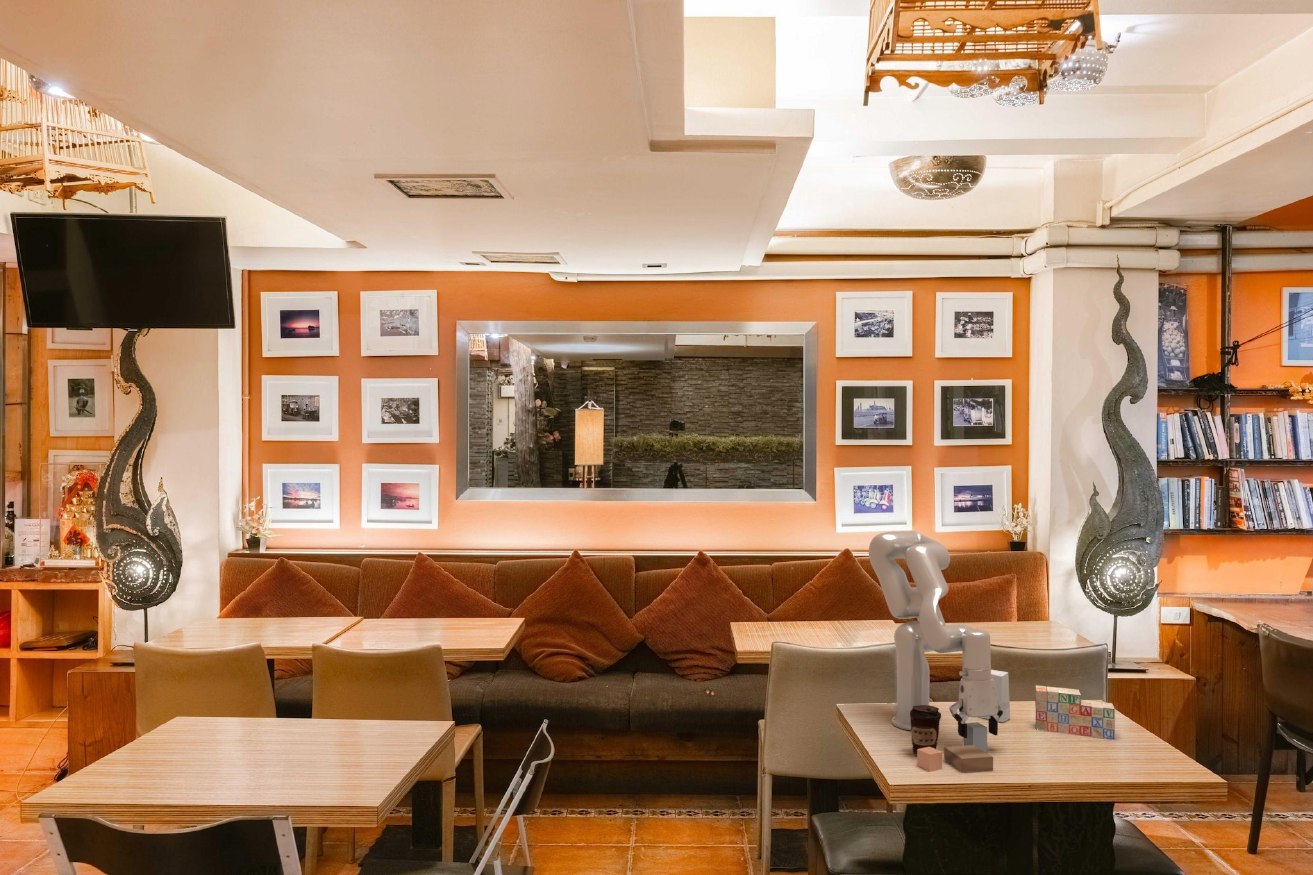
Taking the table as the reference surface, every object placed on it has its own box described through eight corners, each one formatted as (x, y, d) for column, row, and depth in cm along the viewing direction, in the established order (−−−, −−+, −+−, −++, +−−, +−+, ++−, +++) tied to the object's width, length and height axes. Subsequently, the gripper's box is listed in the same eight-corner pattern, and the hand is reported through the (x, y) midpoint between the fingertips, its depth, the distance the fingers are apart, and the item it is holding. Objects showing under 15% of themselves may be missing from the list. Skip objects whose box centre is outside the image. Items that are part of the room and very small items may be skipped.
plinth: (944, 761, 231) (944, 746, 231) (974, 759, 232) (974, 745, 233) (962, 773, 222) (962, 758, 222) (993, 771, 224) (993, 756, 224)
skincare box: (1010, 719, 267) (1010, 672, 267) (1002, 723, 263) (1002, 675, 263) (984, 713, 273) (984, 667, 273) (976, 717, 269) (976, 670, 269)
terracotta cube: (917, 765, 226) (917, 749, 227) (929, 763, 229) (929, 746, 229) (930, 771, 223) (930, 754, 223) (942, 768, 225) (942, 751, 225)
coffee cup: (940, 762, 229) (940, 714, 229) (908, 757, 232) (908, 710, 232) (941, 751, 237) (941, 705, 238) (910, 747, 240) (910, 701, 240)
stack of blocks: (1112, 734, 255) (1112, 693, 255) (1114, 740, 249) (1115, 698, 249) (1034, 724, 263) (1035, 684, 263) (1035, 730, 257) (1035, 689, 258)
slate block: (963, 747, 241) (963, 723, 241) (977, 746, 242) (977, 722, 242) (972, 753, 236) (973, 728, 236) (987, 752, 237) (987, 727, 238)
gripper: (957, 679, 233) (958, 741, 233) (1011, 675, 237) (1013, 737, 237) (942, 672, 241) (943, 733, 240) (995, 669, 245) (996, 729, 244)
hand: (978, 735), depth 238 cm, fingers open, 9 cm apart
